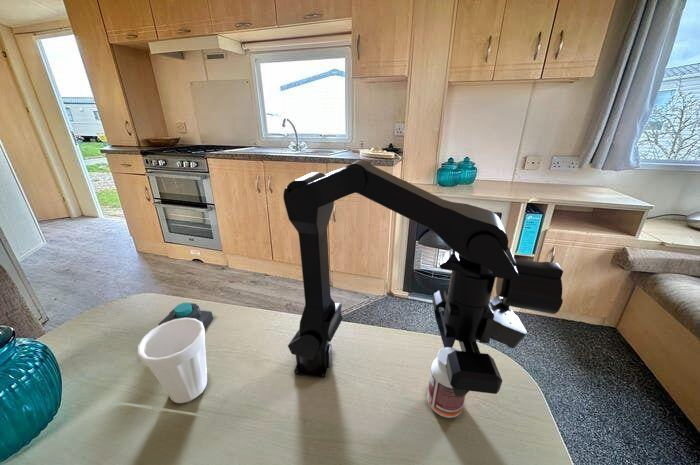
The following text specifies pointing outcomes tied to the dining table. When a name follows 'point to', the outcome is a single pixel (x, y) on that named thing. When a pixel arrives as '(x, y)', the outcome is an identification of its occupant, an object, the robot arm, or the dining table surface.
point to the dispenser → (192, 315)
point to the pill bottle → (443, 388)
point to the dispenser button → (183, 310)
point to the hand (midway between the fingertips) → (452, 370)
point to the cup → (177, 357)
